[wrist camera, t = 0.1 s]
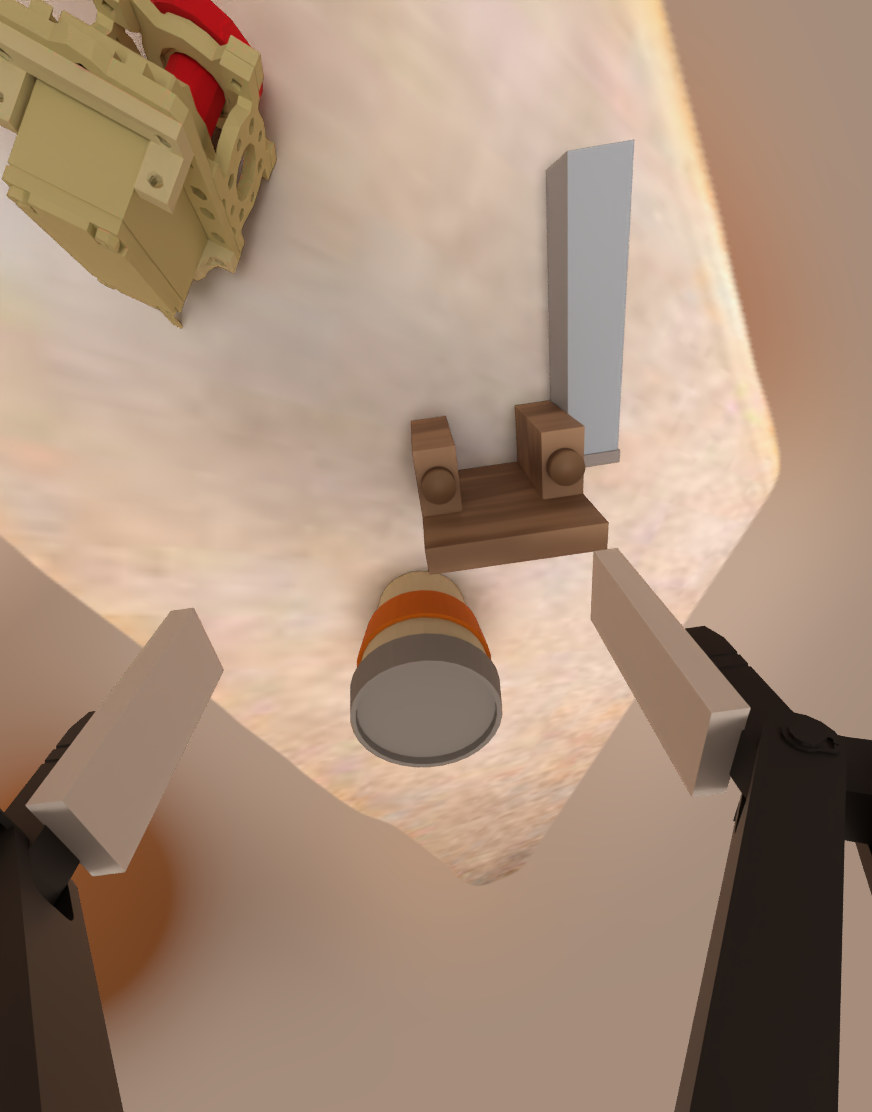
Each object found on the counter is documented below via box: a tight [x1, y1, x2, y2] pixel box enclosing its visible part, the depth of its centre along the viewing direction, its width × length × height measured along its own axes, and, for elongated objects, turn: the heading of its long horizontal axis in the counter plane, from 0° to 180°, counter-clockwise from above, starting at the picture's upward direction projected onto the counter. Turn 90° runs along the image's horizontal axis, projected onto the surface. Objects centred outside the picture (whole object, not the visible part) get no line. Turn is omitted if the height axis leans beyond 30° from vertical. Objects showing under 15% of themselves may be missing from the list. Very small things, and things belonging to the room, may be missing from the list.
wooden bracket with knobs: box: [411, 400, 609, 575], centre depth 35 cm, size 7×12×14 cm, turn 98°
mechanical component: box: [0, 0, 277, 329], centre depth 25 cm, size 8×17×20 cm, turn 154°
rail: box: [546, 140, 634, 467], centre depth 35 cm, size 20×4×5 cm, turn 8°
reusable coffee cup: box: [350, 571, 502, 767], centre depth 43 cm, size 12×13×15 cm
